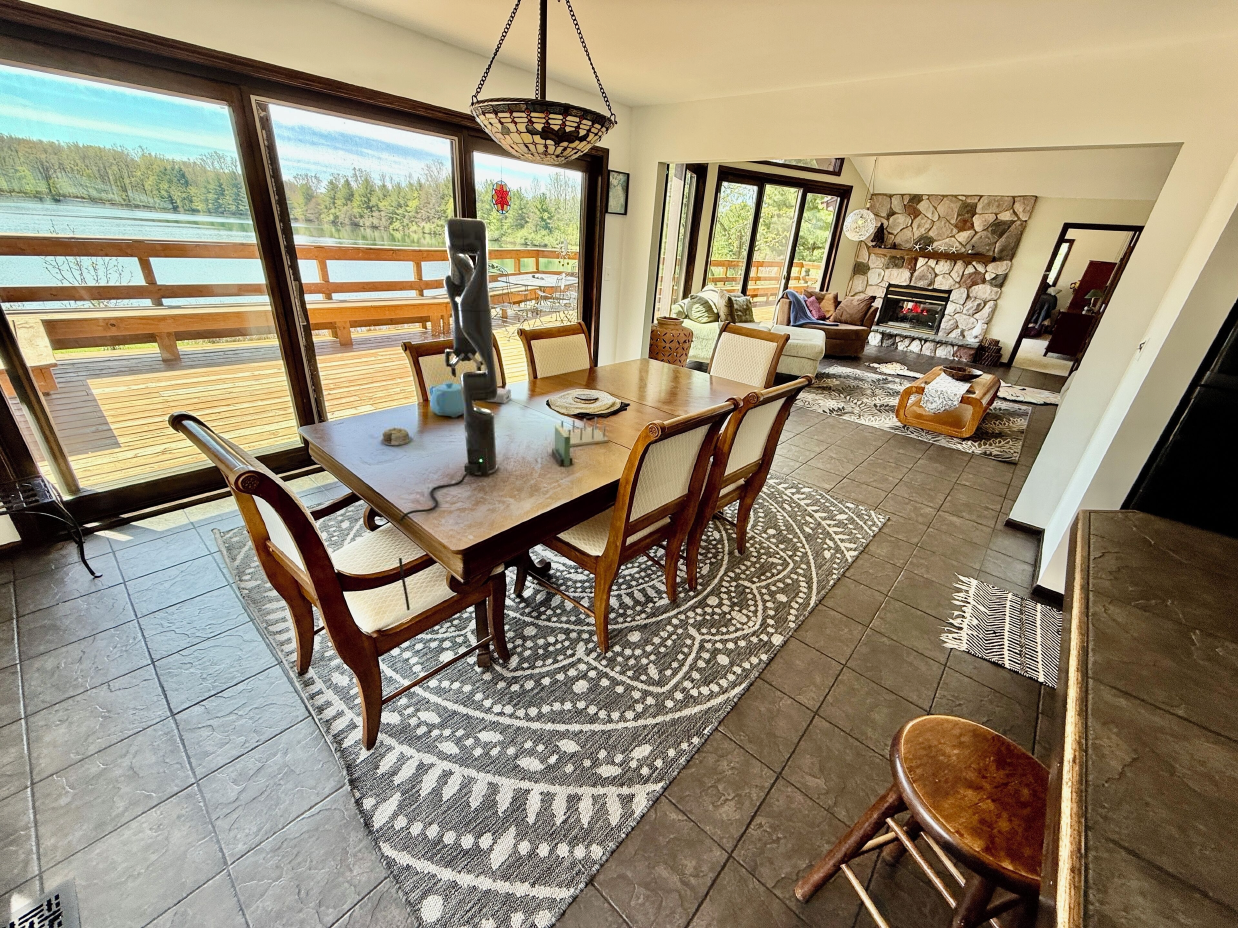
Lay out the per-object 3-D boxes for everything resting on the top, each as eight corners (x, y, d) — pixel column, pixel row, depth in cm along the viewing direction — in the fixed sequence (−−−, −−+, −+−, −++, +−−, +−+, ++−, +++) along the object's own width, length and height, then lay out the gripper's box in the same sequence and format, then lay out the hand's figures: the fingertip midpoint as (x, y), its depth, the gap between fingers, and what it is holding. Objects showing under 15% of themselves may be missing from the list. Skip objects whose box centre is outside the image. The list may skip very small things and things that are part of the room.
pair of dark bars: (572, 464, 168) (572, 458, 167) (560, 466, 166) (560, 459, 165) (563, 453, 176) (563, 447, 175) (551, 454, 175) (551, 448, 174)
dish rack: (608, 441, 189) (609, 427, 186) (568, 446, 182) (569, 431, 180) (595, 429, 200) (596, 415, 197) (557, 433, 194) (557, 419, 191)
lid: (569, 465, 167) (570, 436, 163) (564, 466, 167) (564, 437, 162) (559, 453, 176) (560, 425, 172) (554, 453, 175) (554, 425, 171)
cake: (399, 434, 183) (398, 421, 181) (416, 441, 179) (416, 428, 177) (375, 440, 175) (374, 426, 173) (393, 448, 171) (392, 433, 169)
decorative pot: (469, 405, 216) (467, 376, 211) (473, 417, 203) (471, 386, 197) (430, 408, 210) (427, 378, 205) (432, 420, 197) (429, 388, 191)
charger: (481, 395, 231) (511, 398, 229) (473, 400, 223) (504, 404, 221) (480, 385, 229) (510, 388, 227) (472, 390, 221) (503, 394, 219)
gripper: (444, 337, 166) (448, 381, 175) (486, 336, 172) (488, 378, 180) (441, 330, 172) (445, 373, 180) (481, 329, 177) (483, 370, 186)
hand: (466, 375), depth 180 cm, fingers open, 8 cm apart
